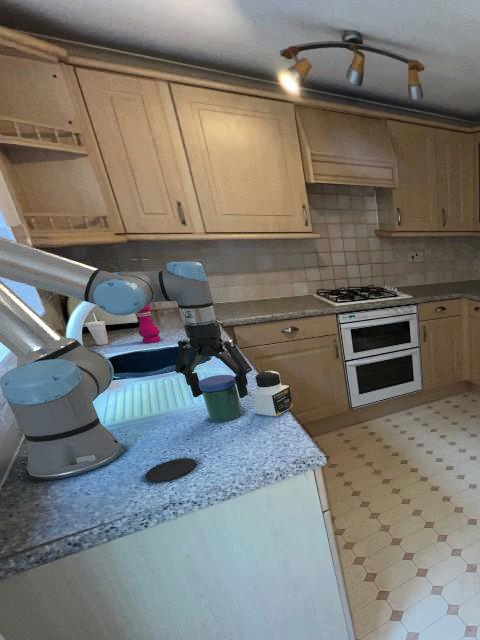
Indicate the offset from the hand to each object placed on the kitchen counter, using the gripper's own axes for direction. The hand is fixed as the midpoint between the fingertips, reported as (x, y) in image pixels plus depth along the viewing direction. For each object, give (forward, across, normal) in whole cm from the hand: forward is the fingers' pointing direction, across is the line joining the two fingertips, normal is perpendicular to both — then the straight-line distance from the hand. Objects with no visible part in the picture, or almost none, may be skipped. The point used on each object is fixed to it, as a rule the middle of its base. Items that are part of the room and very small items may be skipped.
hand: (221, 396), depth 115 cm
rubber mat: (+6, +6, -28) cm, 29 cm away
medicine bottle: (+6, +12, +4) cm, 14 cm away
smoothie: (+6, -100, +68) cm, 122 cm away
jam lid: (-5, 0, 0) cm, 5 cm away
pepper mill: (+6, -83, +74) cm, 111 cm away
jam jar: (+6, 0, 0) cm, 6 cm away
